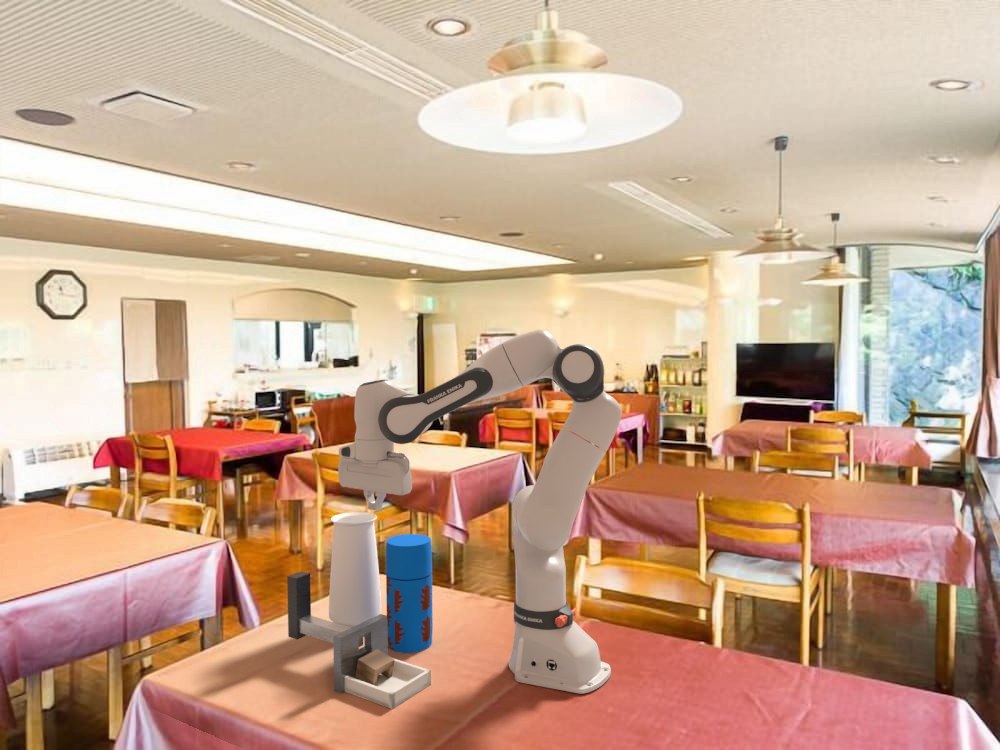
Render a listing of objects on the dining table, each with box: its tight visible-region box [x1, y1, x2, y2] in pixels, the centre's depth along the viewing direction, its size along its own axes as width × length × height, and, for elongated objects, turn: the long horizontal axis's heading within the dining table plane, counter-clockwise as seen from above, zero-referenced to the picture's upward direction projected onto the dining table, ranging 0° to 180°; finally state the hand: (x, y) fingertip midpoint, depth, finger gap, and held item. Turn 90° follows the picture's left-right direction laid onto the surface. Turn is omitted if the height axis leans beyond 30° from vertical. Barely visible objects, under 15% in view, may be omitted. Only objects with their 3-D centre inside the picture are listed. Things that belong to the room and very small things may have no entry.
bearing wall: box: [333, 613, 389, 694], centre depth 150 cm, size 2×14×12 cm, turn 147°
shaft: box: [286, 570, 364, 648], centre depth 156 cm, size 20×4×14 cm, turn 56°
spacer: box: [355, 649, 396, 686], centre depth 148 cm, size 5×6×4 cm
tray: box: [344, 657, 432, 710], centre depth 146 cm, size 13×12×3 cm
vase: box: [328, 511, 382, 628], centre depth 177 cm, size 13×13×28 cm
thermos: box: [385, 533, 434, 654], centre depth 167 cm, size 11×11×25 cm
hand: (375, 509), depth 163 cm, fingers closed
